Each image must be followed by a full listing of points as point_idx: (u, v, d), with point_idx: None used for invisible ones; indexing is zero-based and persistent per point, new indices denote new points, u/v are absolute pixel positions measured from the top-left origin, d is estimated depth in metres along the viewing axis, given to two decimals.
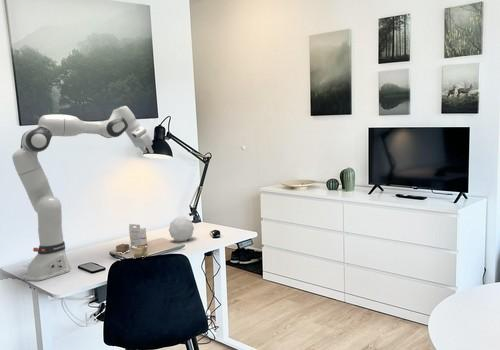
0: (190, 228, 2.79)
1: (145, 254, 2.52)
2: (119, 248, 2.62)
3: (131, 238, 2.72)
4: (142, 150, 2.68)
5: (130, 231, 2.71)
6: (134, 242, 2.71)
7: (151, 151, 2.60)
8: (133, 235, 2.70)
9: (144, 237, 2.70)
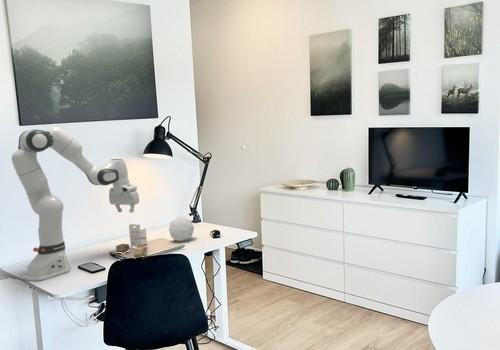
0: (190, 228, 2.79)
1: (145, 254, 2.52)
2: (119, 248, 2.62)
3: (131, 238, 2.72)
4: (117, 208, 2.65)
5: (130, 231, 2.71)
6: (134, 242, 2.71)
7: (132, 210, 2.60)
8: (133, 235, 2.70)
9: (144, 237, 2.70)
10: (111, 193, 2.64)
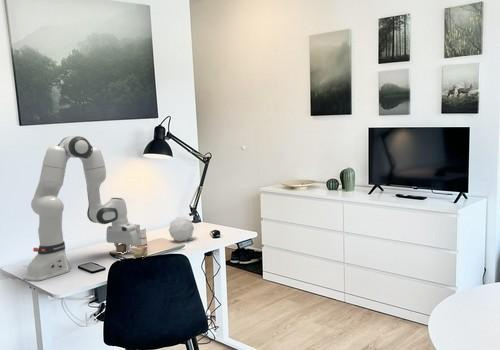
0: (190, 228, 2.79)
1: (145, 254, 2.52)
2: (119, 248, 2.62)
3: None
4: None
5: None
6: None
7: (128, 249, 2.62)
8: None
9: (144, 237, 2.70)
10: (109, 231, 2.65)
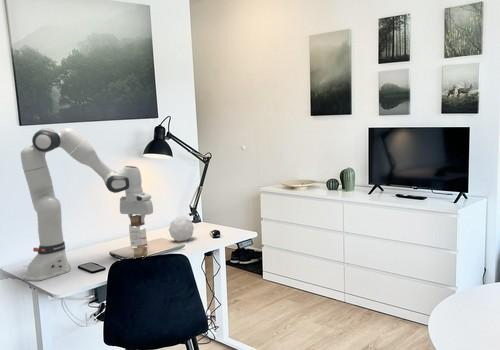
0: (190, 228, 2.79)
1: (145, 254, 2.52)
2: (134, 219, 2.48)
3: (131, 238, 2.72)
4: None
5: (130, 231, 2.71)
6: (134, 242, 2.71)
7: (142, 220, 2.49)
8: (133, 235, 2.70)
9: (144, 237, 2.70)
10: (122, 202, 2.51)
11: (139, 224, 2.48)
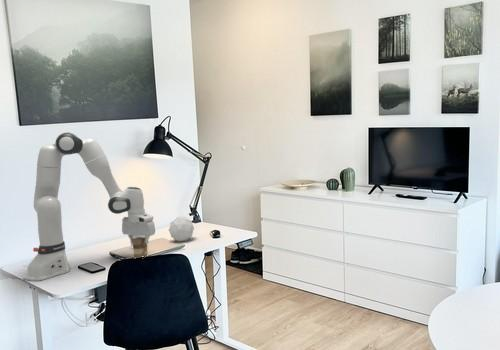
0: (190, 228, 2.79)
1: (145, 254, 2.52)
2: (136, 242, 2.50)
3: None
4: (130, 238, 2.53)
5: None
6: None
7: (147, 241, 2.49)
8: (133, 235, 2.70)
9: None
10: (125, 222, 2.53)
11: (141, 247, 2.50)
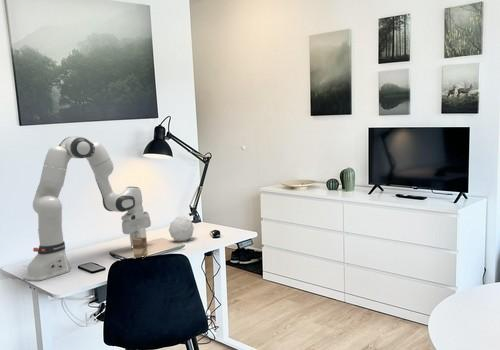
0: (190, 228, 2.79)
1: (145, 254, 2.52)
2: (136, 242, 2.50)
3: (131, 238, 2.72)
4: None
5: None
6: None
7: (133, 238, 2.69)
8: None
9: None
10: None
11: (141, 247, 2.50)
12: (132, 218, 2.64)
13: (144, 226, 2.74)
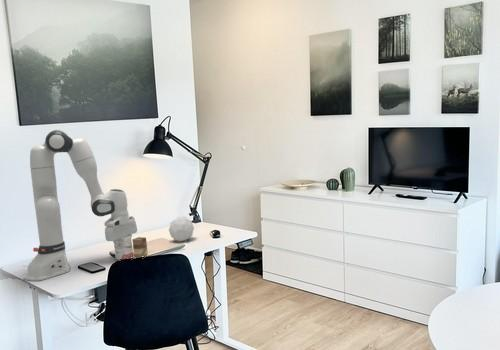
0: (190, 228, 2.79)
1: (145, 254, 2.52)
2: (136, 242, 2.50)
3: (115, 247, 2.52)
4: None
5: None
6: (118, 251, 2.51)
7: (116, 245, 2.47)
8: None
9: (129, 246, 2.50)
10: None
11: (141, 247, 2.50)
12: (116, 224, 2.43)
13: (129, 232, 2.54)
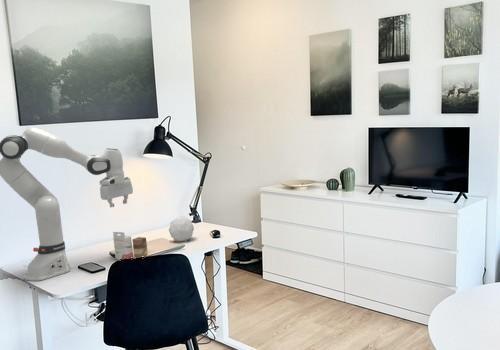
0: (190, 228, 2.79)
1: (145, 254, 2.52)
2: (136, 242, 2.50)
3: (115, 247, 2.52)
4: None
5: (114, 239, 2.51)
6: (118, 251, 2.51)
7: (110, 205, 2.44)
8: (117, 243, 2.50)
9: (129, 246, 2.50)
10: None
11: (141, 247, 2.50)
12: (111, 182, 2.41)
13: (125, 192, 2.51)
